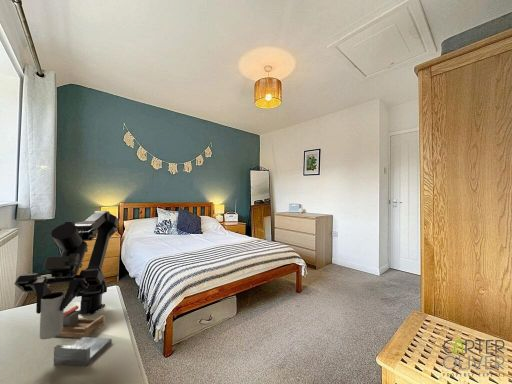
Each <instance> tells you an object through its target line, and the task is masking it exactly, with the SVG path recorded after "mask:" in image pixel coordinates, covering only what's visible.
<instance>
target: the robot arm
mask: <svg viewBox="0 0 512 384" xmlns="http://www.w3.org/2000/svg"><path fill="white" fill-rule="evenodd" d="M119 224H120V223H119V219H118V217H117V216H116V215H114V214H112V213H111V212H110V211H108V210H96V211H94V212H93V214H91V215H90V216H89V217H88V218H86V219H85V220H84V221H79V222H75V221H74V220H72V221H71V220H67V221H65V222H64V223H63V224H60V225H58V226H56V227H55V228H53V229H52V231H51V233H50V235H51V237H52V239H53V241H54V242H55V243H56V245H57V246H58V247H59V249H61V250H62V251H61V254H60V255H59V256H47V257H45V260H44V264H43V267H42V270H44V271H45V270H47V274H48V275H49V276H41V275H40V273H38V272H37V273H35V272H33V273H24V274H23V273H22V274H21V275H19V276H18V277H17V278H16V280H15V281H14V285H15V286H16V287H17V288H19V290H21V291H22V292H24V293H30V292H31V293H32V292H35V295H36V306H35V307H36V309H35V310H36V313H37V315H40V313H41V298H42V297H43V296H45V295H47V294H50V293H52V290H51V288H50V287H49V286H51V285H56V284H68V288H67V290H66V292H65V293H64V299H63V301H62V303H61V306H60V311H63V310H65V309H66V308H67V307H68V305H69V304H70V303H71V302H72V301H73V300H74V299H75V298H79V297H81V299H80V300H81V301H80V307H79V308H80V309H79V310H78V311H79V314H83V315H84V314H86V315H88V314H89V315H93V314H95V313H96V311H97V312H98V311H100V310H101V309H103V308H104V307H106V304H104V303H102V299H103V298H102V297H103V294H105V293H107V291H108V282H107V281H106V279H105V274H104V272H103V265H104V260H105V257H106V254H107V249H108V247H109V241H110V238H111V237H112V236H113V235H114V234H115V233H116V231H117V228H119ZM95 237H96V239H95ZM94 239H95V241H94V244H93V245H94V246H93V249H92V252H91V255H90V258H89V261H88V265H87V267H86V268H85V269H82V270H80V269H81V268H83V260H84V257H85V254H86V253H87V252H89V251H88V249H89V248H88V243H87V242H86V241H93V240H94ZM79 270H80V271H79ZM78 273H79V274H78ZM50 275H51V276H50ZM99 309H100V310H99Z"/></svg>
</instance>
